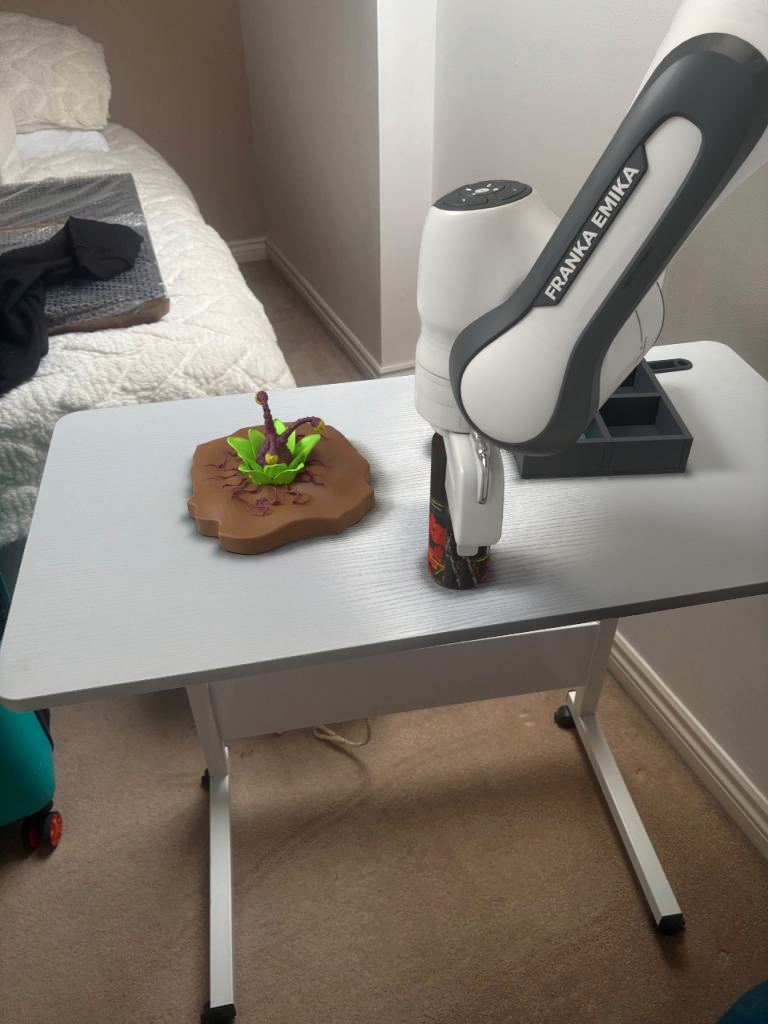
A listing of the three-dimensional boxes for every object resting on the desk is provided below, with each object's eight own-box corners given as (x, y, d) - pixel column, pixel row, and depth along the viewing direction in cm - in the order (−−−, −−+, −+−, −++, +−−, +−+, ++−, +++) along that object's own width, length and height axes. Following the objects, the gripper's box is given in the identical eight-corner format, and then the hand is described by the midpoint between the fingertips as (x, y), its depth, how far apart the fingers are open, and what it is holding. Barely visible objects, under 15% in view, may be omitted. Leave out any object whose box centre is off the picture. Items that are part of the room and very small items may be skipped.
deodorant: (490, 590, 78) (504, 461, 69) (427, 589, 79) (432, 461, 69) (486, 548, 83) (497, 422, 74) (426, 547, 83) (430, 422, 74)
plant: (338, 424, 101) (334, 341, 93) (395, 521, 86) (395, 431, 79) (172, 458, 95) (154, 372, 88) (204, 567, 81) (185, 476, 74)
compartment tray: (636, 387, 107) (643, 355, 104) (684, 472, 93) (693, 438, 90) (494, 392, 106) (497, 360, 103) (521, 479, 92) (525, 445, 89)
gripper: (531, 460, 60) (513, 594, 69) (487, 328, 76) (477, 451, 85) (444, 463, 60) (437, 598, 69) (418, 330, 75) (415, 454, 84)
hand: (459, 516), depth 77 cm, fingers open, 8 cm apart
